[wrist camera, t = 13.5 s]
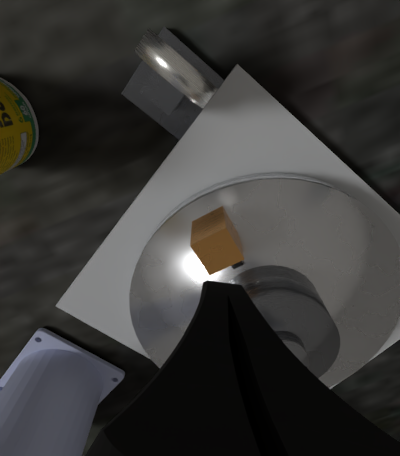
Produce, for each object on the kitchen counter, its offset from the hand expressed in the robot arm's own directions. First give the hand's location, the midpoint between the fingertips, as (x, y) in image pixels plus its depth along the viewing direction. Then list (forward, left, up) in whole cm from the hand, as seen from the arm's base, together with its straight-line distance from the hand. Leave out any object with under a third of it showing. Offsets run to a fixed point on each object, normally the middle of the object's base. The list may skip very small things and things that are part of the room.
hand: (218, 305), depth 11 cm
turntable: (-3, -7, -9) cm, 12 cm away
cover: (-3, -7, -8) cm, 11 cm away
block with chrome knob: (+4, +6, -10) cm, 13 cm away
